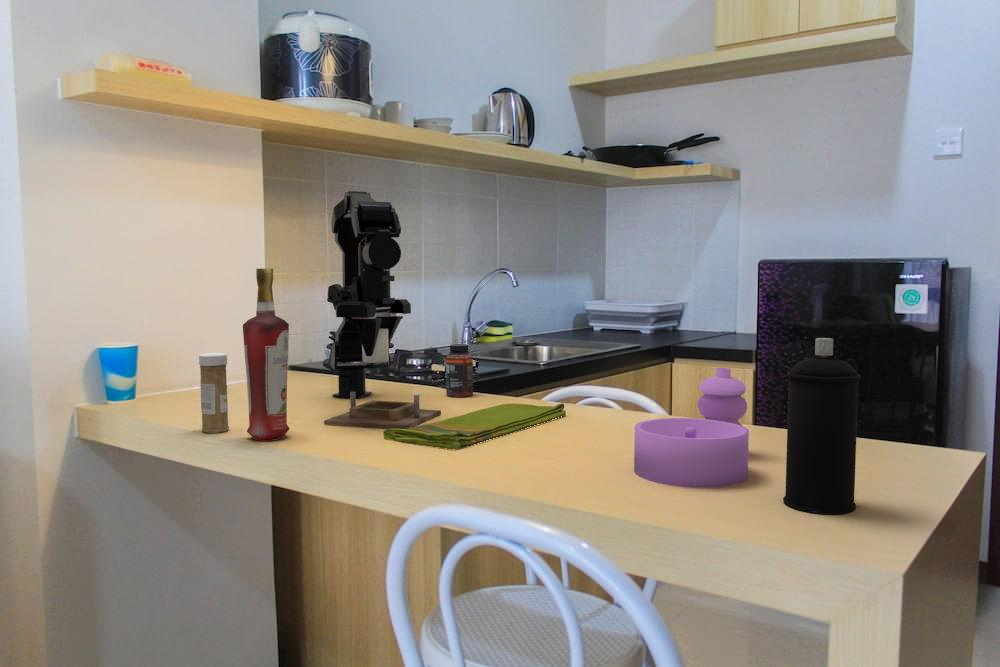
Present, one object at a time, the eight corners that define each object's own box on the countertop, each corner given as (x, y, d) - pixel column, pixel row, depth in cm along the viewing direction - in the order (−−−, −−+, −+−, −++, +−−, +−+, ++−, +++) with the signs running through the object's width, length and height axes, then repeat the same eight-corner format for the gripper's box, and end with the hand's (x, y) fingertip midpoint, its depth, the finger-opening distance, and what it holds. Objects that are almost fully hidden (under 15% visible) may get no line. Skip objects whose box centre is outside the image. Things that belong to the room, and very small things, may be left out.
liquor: (261, 432, 144) (257, 268, 142) (299, 434, 142) (296, 268, 140) (236, 440, 137) (231, 268, 135) (276, 443, 135) (272, 268, 133)
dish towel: (380, 442, 139) (380, 423, 138) (500, 411, 168) (500, 395, 168) (455, 454, 130) (455, 433, 130) (568, 419, 160) (568, 402, 159)
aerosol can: (857, 518, 95) (863, 342, 94) (780, 510, 98) (785, 340, 97) (855, 499, 103) (861, 336, 101) (784, 492, 106) (789, 334, 104)
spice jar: (233, 431, 145) (231, 353, 144) (208, 434, 142) (206, 355, 141) (221, 427, 148) (219, 351, 147) (196, 430, 145) (194, 353, 144)
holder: (365, 410, 166) (365, 385, 166) (441, 414, 161) (440, 389, 161) (324, 424, 151) (324, 398, 151) (406, 430, 146) (405, 402, 146)
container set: (727, 494, 106) (729, 390, 105) (616, 478, 114) (617, 381, 113) (778, 456, 127) (781, 369, 126) (681, 444, 135) (683, 363, 134)
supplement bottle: (473, 393, 187) (473, 343, 187) (473, 397, 182) (472, 345, 181) (446, 393, 187) (446, 343, 186) (445, 397, 181) (445, 345, 180)
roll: (370, 360, 159) (369, 327, 158) (393, 360, 157) (392, 328, 157) (357, 362, 154) (357, 329, 154) (381, 363, 152) (380, 329, 152)
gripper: (360, 271, 166) (361, 349, 167) (308, 270, 148) (310, 358, 149) (411, 270, 162) (412, 351, 163) (364, 269, 145) (366, 360, 146)
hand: (375, 354), depth 155 cm, fingers closed on roll, 5 cm apart
